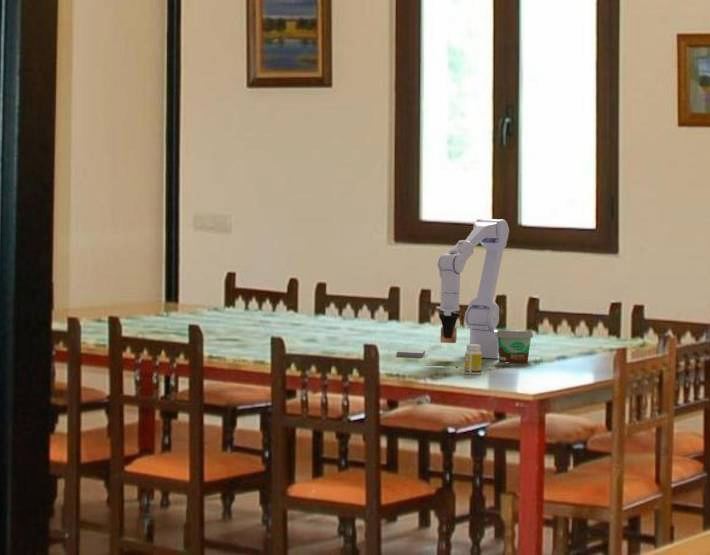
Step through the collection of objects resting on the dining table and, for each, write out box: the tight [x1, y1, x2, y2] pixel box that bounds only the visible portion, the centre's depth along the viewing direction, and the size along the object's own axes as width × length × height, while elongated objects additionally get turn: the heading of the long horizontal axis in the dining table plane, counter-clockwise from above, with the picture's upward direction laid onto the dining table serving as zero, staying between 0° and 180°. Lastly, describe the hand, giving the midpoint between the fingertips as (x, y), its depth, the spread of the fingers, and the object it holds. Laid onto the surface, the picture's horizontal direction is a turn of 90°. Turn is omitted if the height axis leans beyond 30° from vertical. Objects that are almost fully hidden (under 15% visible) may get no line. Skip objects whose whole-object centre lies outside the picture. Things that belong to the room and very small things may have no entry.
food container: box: [496, 328, 534, 364], centre depth 430 cm, size 12×6×10 cm, turn 114°
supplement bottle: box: [464, 343, 483, 376], centre depth 401 cm, size 5×5×8 cm
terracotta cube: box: [439, 325, 458, 344], centre depth 426 cm, size 4×4×4 cm
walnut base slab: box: [393, 353, 429, 359], centre depth 434 cm, size 10×10×2 cm
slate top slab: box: [396, 348, 426, 359], centre depth 434 cm, size 8×8×2 cm
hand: (448, 337), depth 426 cm, fingers closed on terracotta cube, 4 cm apart
